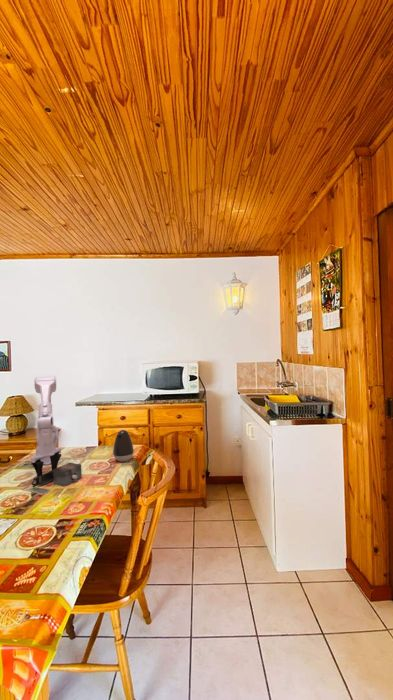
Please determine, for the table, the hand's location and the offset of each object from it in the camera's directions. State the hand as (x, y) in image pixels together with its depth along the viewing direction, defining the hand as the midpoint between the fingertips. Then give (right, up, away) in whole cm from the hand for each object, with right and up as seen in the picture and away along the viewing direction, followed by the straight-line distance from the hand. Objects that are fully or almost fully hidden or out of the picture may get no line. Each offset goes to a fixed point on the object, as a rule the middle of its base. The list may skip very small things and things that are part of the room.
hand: (47, 473), depth 142 cm
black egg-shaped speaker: (+30, -1, +19) cm, 36 cm away
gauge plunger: (+10, -1, -6) cm, 12 cm away
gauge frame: (+6, -1, -8) cm, 10 cm away
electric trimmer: (+2, -2, -2) cm, 4 cm away
